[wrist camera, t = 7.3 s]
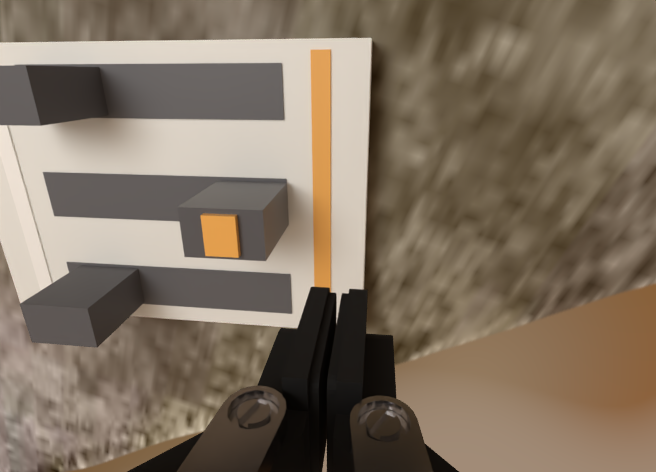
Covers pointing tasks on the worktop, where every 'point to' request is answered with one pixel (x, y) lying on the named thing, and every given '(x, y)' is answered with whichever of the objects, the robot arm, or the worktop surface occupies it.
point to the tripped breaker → (234, 220)
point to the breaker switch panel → (177, 176)
